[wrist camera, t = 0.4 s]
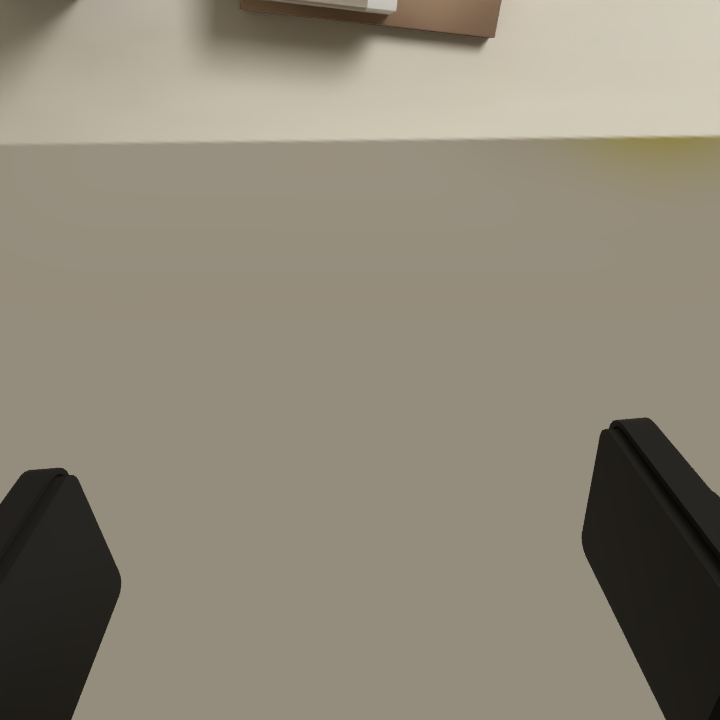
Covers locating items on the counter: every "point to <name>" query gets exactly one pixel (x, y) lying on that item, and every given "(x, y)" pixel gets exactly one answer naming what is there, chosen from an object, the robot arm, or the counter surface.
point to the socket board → (395, 13)
